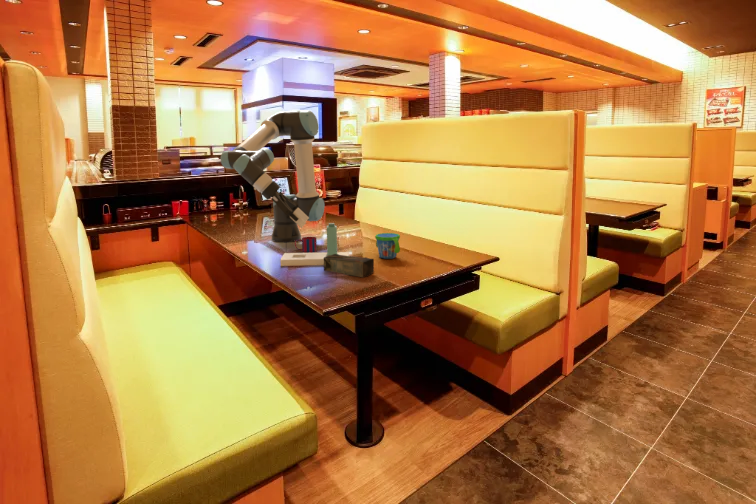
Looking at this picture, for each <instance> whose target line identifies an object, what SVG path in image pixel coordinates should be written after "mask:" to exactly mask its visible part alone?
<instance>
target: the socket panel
mask: <svg viewBox="0 0 756 504" xmlns="http://www.w3.org/2000/svg"><path fill="white" fill-rule="evenodd" d="M337 255H345V256H350V251H341V252H339V251H337ZM324 257H327V251H326V252H323V251H322V252H313V253H304V252H284V253H283V255H282V256H281V258H280V267H281V268H283V267H286V266H287V267H288V266H289V267H291V266H293V267H294V266H299V267H300V266H324Z"/></svg>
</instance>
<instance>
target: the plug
mask: <svg viewBox="0 0 756 504" xmlns="http://www.w3.org/2000/svg"><path fill="white" fill-rule="evenodd" d="M337 229H338V228H337V225H335V222H328V225H326V247H327V248H326V250H327V251H326V252H327V256H328V255H333V254H337V252H338V233H337V232H338V231H337Z"/></svg>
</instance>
